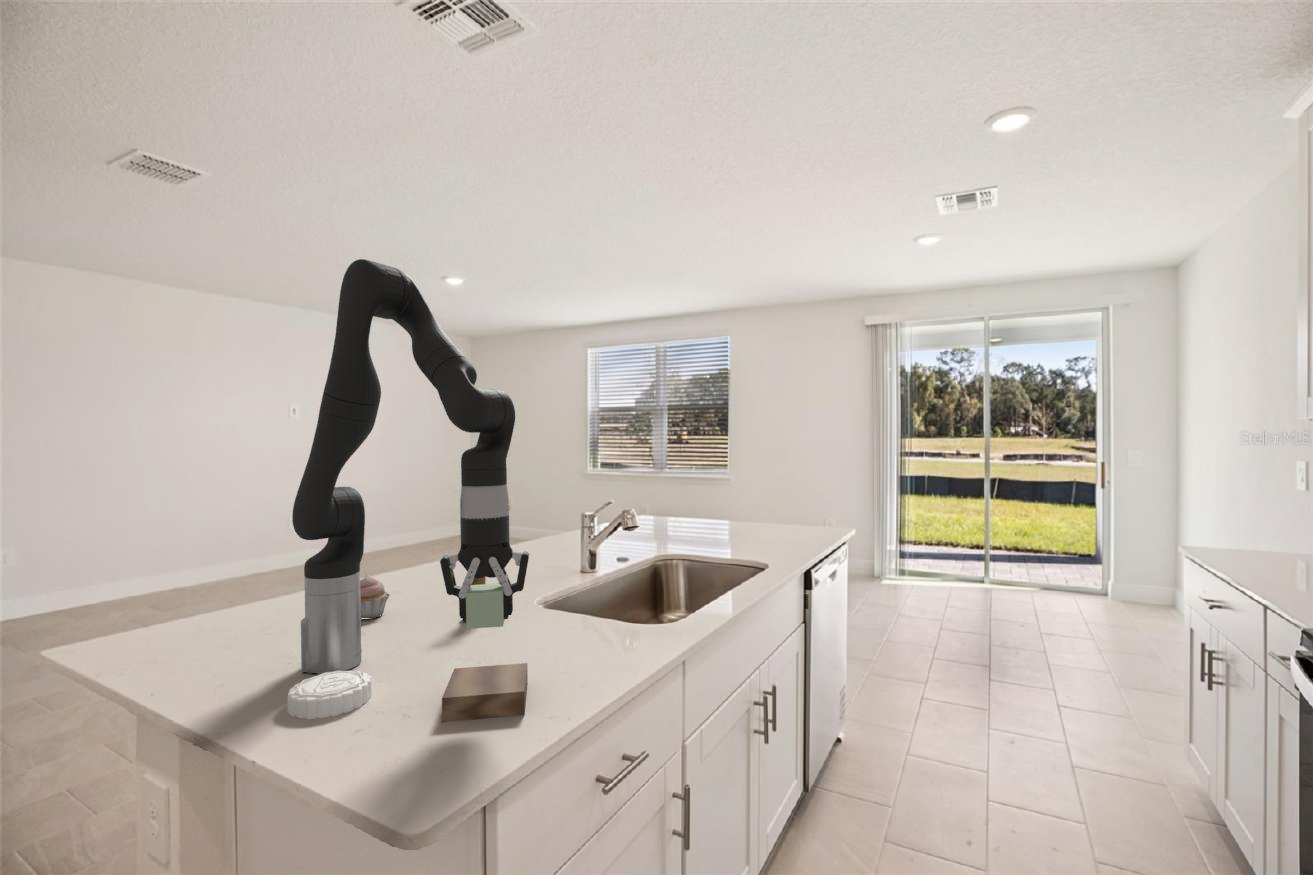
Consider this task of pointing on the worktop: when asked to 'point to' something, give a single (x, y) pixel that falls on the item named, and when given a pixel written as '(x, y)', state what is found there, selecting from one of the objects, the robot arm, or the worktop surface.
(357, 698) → the mooncake
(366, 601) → the cupcake
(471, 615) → the sage block
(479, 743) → the worktop surface
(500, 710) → the walnut block
